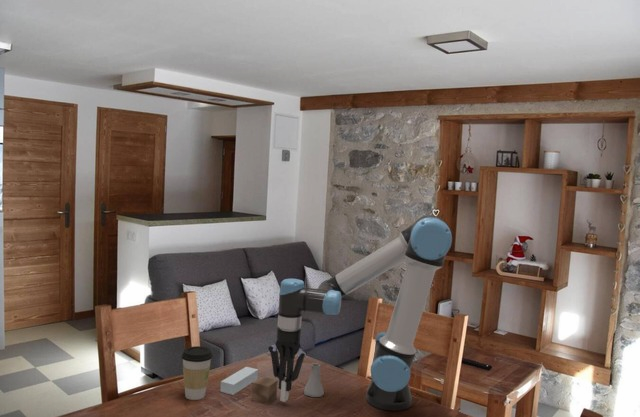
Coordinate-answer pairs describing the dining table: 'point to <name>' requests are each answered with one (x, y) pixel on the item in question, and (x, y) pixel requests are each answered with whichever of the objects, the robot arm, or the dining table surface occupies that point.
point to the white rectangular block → (239, 380)
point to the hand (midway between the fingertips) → (284, 399)
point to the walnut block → (264, 390)
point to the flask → (314, 383)
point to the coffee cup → (196, 371)
